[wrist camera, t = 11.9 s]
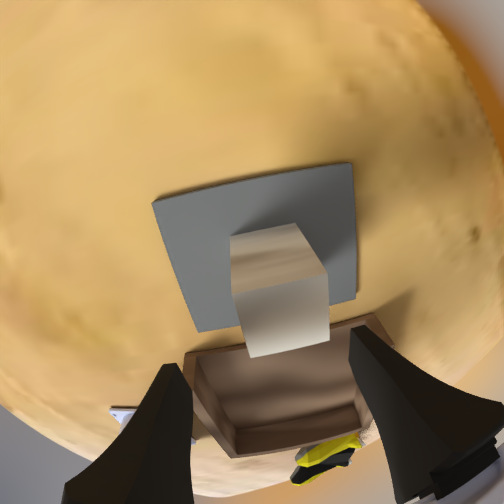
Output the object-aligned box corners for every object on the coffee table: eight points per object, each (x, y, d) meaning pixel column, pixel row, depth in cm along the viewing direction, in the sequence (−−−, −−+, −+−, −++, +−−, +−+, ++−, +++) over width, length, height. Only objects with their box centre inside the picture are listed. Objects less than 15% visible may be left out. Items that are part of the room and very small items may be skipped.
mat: (353, 295, 20) (355, 298, 19) (198, 328, 20) (198, 332, 19) (348, 162, 15) (351, 163, 15) (153, 201, 15) (151, 203, 15)
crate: (358, 402, 28) (368, 428, 24) (229, 430, 28) (230, 458, 24) (373, 312, 21) (394, 344, 17) (184, 353, 21) (180, 391, 17)
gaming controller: (286, 462, 36) (341, 451, 36) (290, 489, 31) (349, 476, 31) (291, 428, 29) (363, 412, 30) (298, 464, 24) (376, 444, 25)
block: (302, 278, 18) (329, 340, 13) (243, 290, 18) (250, 358, 13) (295, 222, 16) (327, 273, 11) (229, 236, 16) (231, 294, 11)
